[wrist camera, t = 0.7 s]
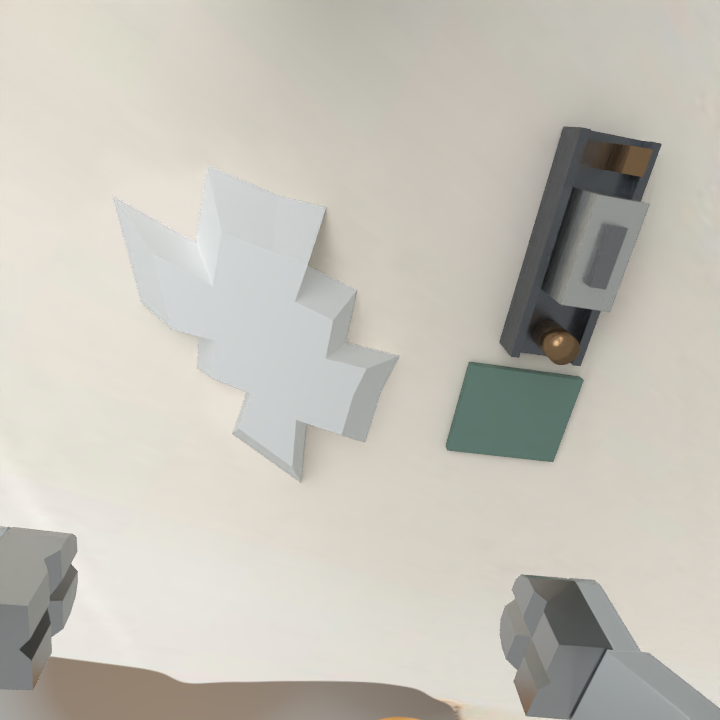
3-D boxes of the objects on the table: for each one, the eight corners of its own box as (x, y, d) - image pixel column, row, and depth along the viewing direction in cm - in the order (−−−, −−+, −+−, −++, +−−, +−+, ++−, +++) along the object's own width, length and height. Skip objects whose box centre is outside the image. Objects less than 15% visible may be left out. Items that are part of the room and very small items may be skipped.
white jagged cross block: (438, 424, 59) (449, 453, 54) (274, 497, 61) (271, 531, 56) (277, 96, 45) (272, 94, 40) (73, 206, 48) (45, 217, 43)
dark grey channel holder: (563, 126, 47) (602, 128, 41) (638, 141, 48) (688, 146, 42) (499, 342, 55) (523, 372, 49) (565, 351, 56) (597, 382, 50)
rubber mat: (468, 361, 56) (471, 365, 55) (580, 376, 57) (583, 380, 57) (445, 446, 60) (447, 450, 59) (550, 457, 61) (553, 461, 60)
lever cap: (570, 186, 47) (602, 195, 42) (617, 195, 48) (655, 205, 43) (538, 287, 51) (564, 307, 46) (583, 294, 51) (614, 315, 46)
